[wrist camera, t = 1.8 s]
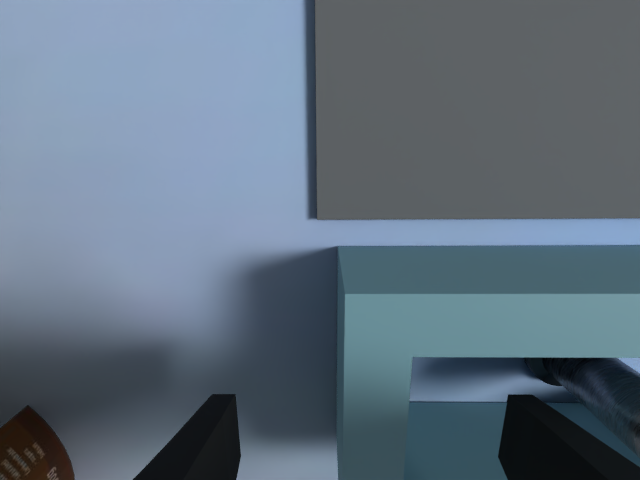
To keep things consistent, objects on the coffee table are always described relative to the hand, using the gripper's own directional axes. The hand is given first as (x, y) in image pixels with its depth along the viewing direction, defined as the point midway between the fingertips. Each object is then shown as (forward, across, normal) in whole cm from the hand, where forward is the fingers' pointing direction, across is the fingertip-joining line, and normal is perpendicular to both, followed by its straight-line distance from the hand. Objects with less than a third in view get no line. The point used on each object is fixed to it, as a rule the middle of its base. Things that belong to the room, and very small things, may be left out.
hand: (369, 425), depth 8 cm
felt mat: (+4, -5, -9) cm, 11 cm away
